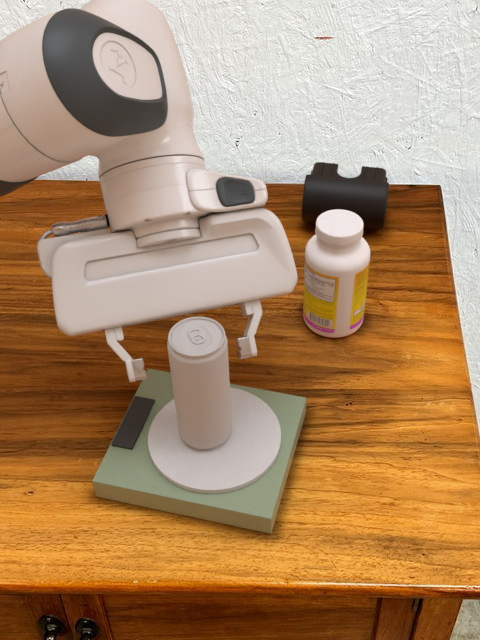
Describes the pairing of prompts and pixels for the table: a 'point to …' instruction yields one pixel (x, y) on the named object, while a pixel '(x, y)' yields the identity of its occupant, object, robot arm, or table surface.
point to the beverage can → (200, 381)
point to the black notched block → (346, 194)
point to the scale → (204, 457)
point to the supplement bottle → (336, 274)
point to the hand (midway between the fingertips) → (194, 369)
